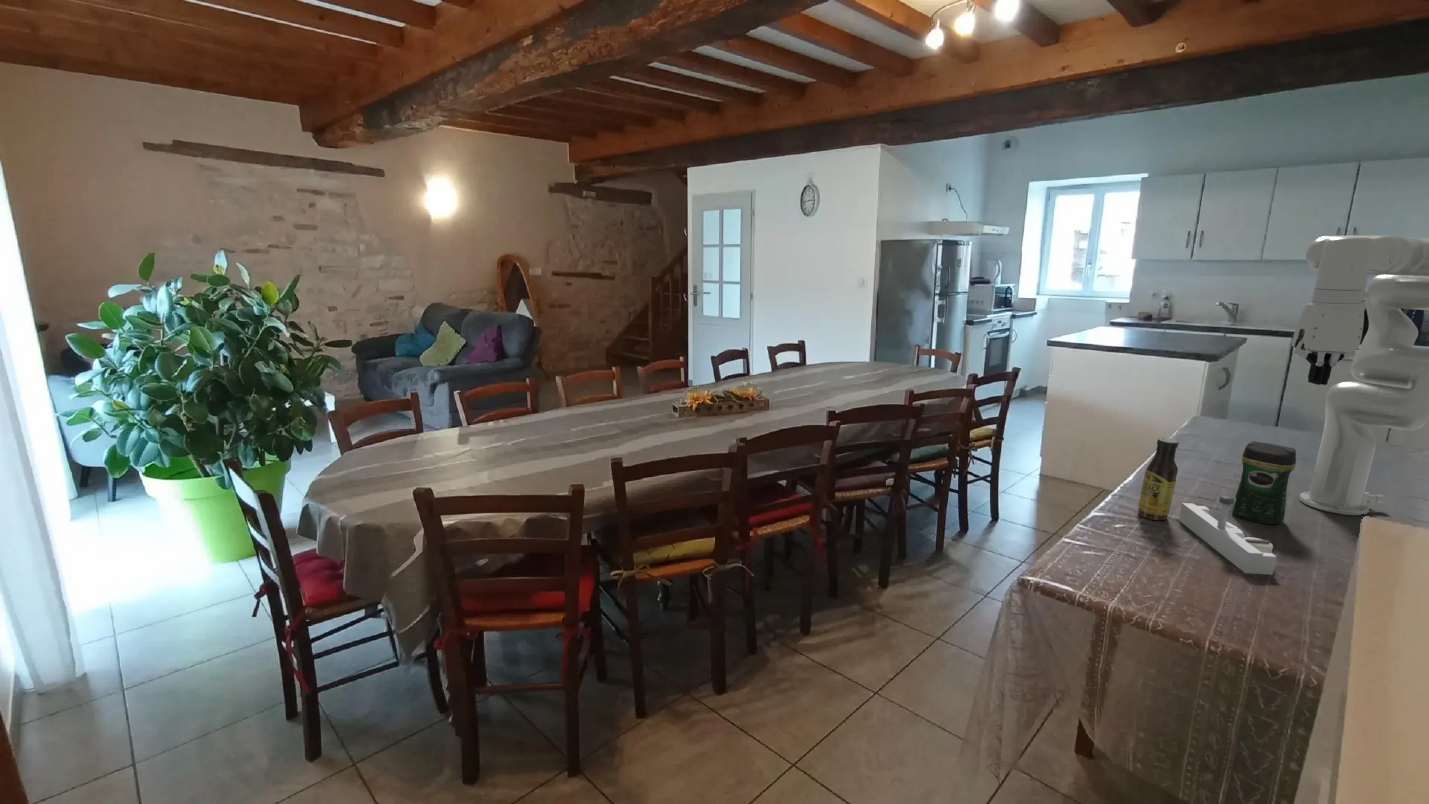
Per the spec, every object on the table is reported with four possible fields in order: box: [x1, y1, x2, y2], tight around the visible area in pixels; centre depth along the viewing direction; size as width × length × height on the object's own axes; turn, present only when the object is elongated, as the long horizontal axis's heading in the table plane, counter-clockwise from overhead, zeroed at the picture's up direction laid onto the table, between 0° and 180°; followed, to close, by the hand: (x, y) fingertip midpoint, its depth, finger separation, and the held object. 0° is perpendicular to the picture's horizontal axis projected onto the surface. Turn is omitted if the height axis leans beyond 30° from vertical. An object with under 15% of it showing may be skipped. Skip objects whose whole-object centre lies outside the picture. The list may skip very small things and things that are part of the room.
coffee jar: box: [1231, 440, 1297, 525], centre depth 151 cm, size 10×8×19 cm
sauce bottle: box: [1137, 437, 1180, 521], centre depth 152 cm, size 6×6×20 cm
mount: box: [1178, 495, 1277, 576], centre depth 138 cm, size 5×25×12 cm, turn 170°
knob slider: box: [1242, 536, 1274, 554], centre depth 132 cm, size 5×5×4 cm
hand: (1317, 383), depth 137 cm, fingers closed
